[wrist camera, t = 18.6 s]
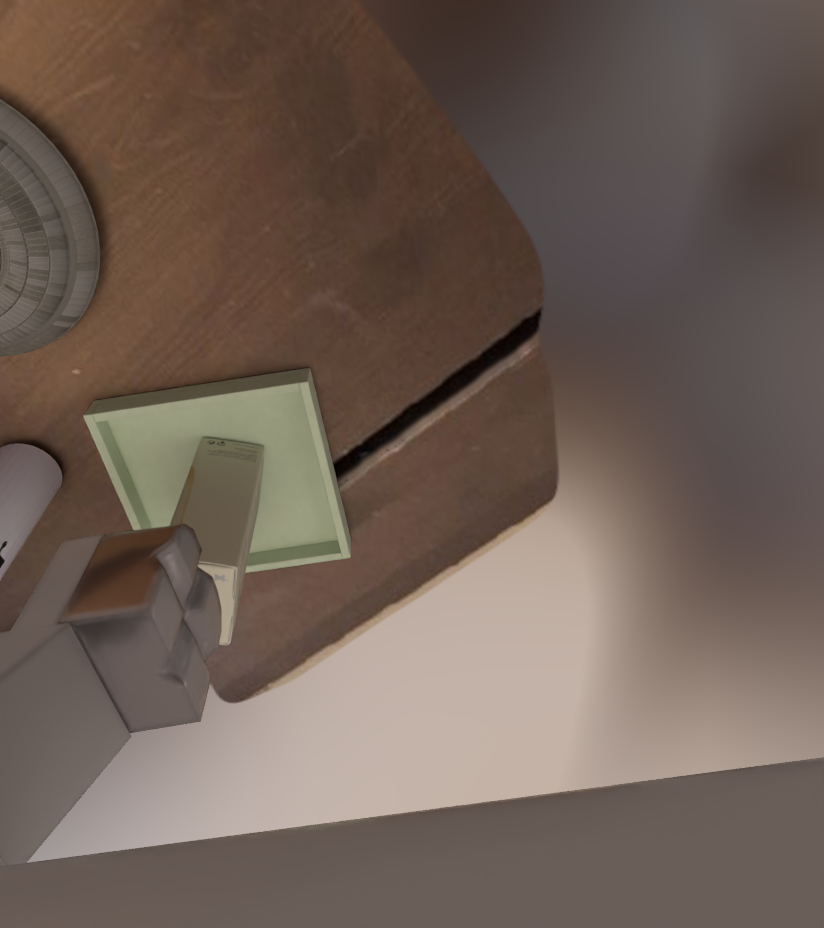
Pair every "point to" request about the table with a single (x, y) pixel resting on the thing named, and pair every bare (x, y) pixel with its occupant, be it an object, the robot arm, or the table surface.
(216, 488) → the cosmetic box
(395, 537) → the table surface
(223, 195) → the table surface
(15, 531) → the perfume bottle
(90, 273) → the flying saucer
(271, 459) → the tray
